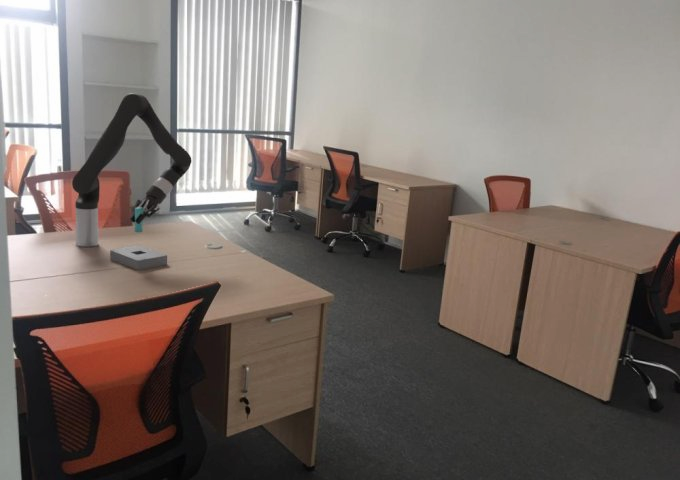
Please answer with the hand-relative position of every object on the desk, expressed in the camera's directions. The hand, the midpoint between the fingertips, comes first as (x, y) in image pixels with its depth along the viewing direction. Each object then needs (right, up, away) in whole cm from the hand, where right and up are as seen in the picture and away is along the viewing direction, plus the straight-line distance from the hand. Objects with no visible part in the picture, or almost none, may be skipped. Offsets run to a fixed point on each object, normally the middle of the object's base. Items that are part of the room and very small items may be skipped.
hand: (134, 221), depth 243 cm
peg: (+1, -4, +3) cm, 5 cm away
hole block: (0, -17, +6) cm, 18 cm away
